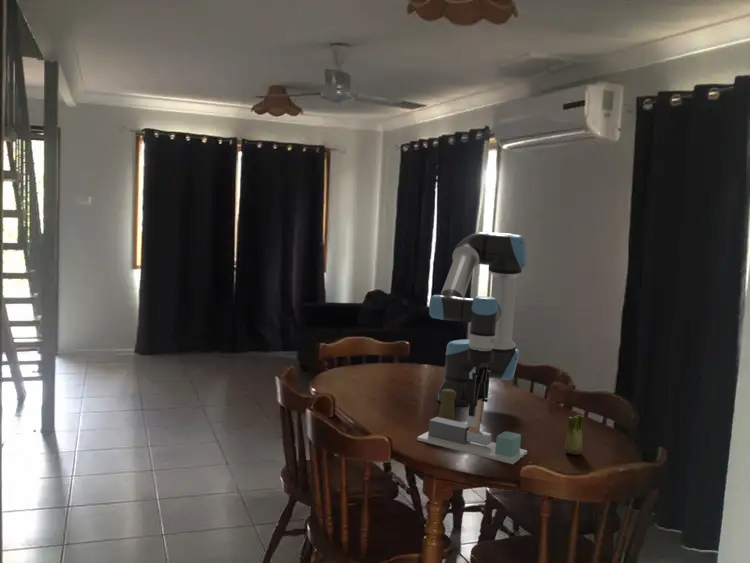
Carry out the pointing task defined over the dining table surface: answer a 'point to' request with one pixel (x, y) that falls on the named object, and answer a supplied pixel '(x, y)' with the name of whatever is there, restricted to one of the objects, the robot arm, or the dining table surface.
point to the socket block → (508, 444)
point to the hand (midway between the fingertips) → (474, 424)
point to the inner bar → (478, 429)
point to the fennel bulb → (574, 436)
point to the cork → (447, 404)
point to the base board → (473, 448)
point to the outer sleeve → (448, 430)
